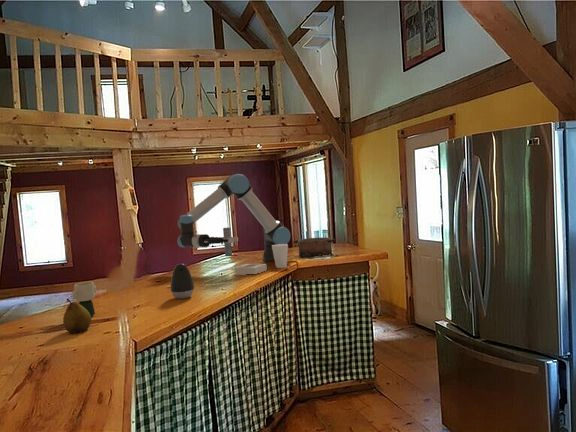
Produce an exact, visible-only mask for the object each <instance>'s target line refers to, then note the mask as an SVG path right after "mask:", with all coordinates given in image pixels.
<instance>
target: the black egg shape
mask: <svg viewBox="0 0 576 432" xmlns="http://www.w3.org/2000/svg"><path fill="white" fill-rule="evenodd" d="M170 279H171V280H170V292H171V294H172V296H173V297H174V298H175V299H177V300H183V299H187V298H189V297H192V295H193V293H194V290H195V284H194V280H193V277H192V274H191V271H190V269H189V268H188V266H187V265H186V264H184V263H178V264H175V266H174V268H173V271H172V274H171V278H170Z"/></svg>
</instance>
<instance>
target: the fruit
mask: <svg viewBox="0 0 576 432" xmlns="http://www.w3.org/2000/svg"><path fill="white" fill-rule="evenodd" d="M66 301H68V302H69V303H68V306H67V307H66V309H65V312H64V314H63V321H62V322H63V327H64V330H65V331H66V332H68V333H70V334H79V333H83V332H85V331H87V330H88V329H89V328H90V326H91V325H92V324H91V323H92V315H90V313H89V312H88V311H87V310H86V309H85V308H84V307H83V306H82V305H80V304H79V302H78V301H72V302H71V300H70V299H69V298H66Z"/></svg>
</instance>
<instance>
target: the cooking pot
mask: <svg viewBox="0 0 576 432" xmlns="http://www.w3.org/2000/svg"><path fill="white" fill-rule="evenodd" d="M336 241H337V239H336V238H333V239H332V238H331V237H309V238H307V237H306V238H300V239H295V240H293V243H294V244H297V245H298V254H299V255H298V256H299V257H301V256H302V257H301V258H314V257H313V256H320V257H324V256H323V255H327V256H330V255H329V254H331V255H332V253H333V249H332V243H334V242H336Z"/></svg>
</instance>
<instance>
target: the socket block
mask: <svg viewBox="0 0 576 432" xmlns="http://www.w3.org/2000/svg"><path fill="white" fill-rule="evenodd" d="M267 268H268V267H267V263H245V264H242V265H239V266H236V267H234V274H235V275H234V276H247V275H246V274H257V273H260V272H263V271H265V272H267V271H268V269H267ZM266 270H267V271H266ZM263 273H264V272H263ZM260 274H261V273H260ZM257 275H258V274H257Z"/></svg>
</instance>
